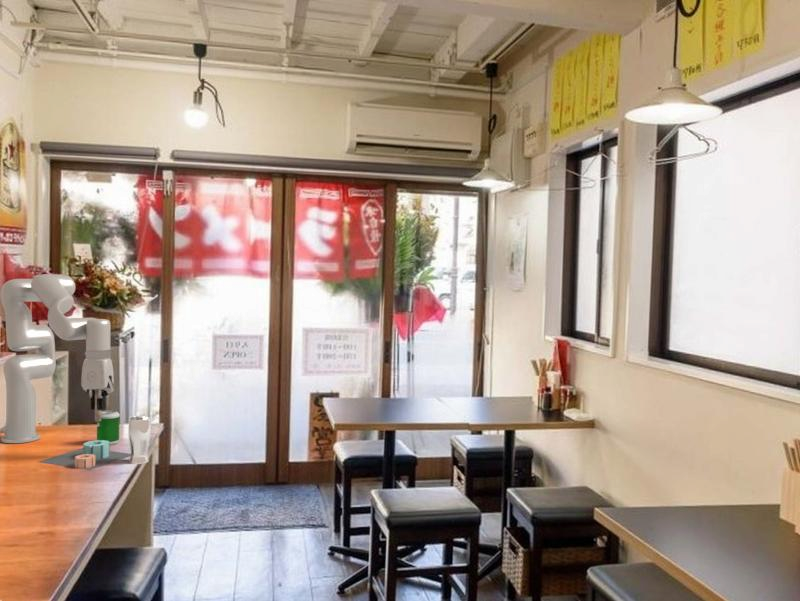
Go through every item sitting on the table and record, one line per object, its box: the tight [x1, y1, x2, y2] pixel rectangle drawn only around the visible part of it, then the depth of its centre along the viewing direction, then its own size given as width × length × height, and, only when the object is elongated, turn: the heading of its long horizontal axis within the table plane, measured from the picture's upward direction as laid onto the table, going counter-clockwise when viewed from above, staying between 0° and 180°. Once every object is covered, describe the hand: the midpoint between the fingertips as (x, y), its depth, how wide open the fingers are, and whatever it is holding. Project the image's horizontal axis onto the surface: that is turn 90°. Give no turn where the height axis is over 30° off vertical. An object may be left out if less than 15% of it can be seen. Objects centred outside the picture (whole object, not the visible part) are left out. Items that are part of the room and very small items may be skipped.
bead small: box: [75, 454, 96, 469], centre depth 208 cm, size 6×6×3 cm
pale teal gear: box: [82, 439, 111, 459], centre depth 219 cm, size 8×8×4 cm
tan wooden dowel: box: [94, 389, 102, 423], centre depth 219 cm, size 2×2×12 cm
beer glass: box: [128, 415, 152, 465], centre depth 215 cm, size 7×7×15 cm
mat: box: [37, 447, 131, 471], centre depth 217 cm, size 22×20×1 cm
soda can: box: [96, 409, 121, 446], centre depth 236 cm, size 8×8×12 cm
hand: (98, 408), depth 219 cm, fingers closed on tan wooden dowel, 2 cm apart
